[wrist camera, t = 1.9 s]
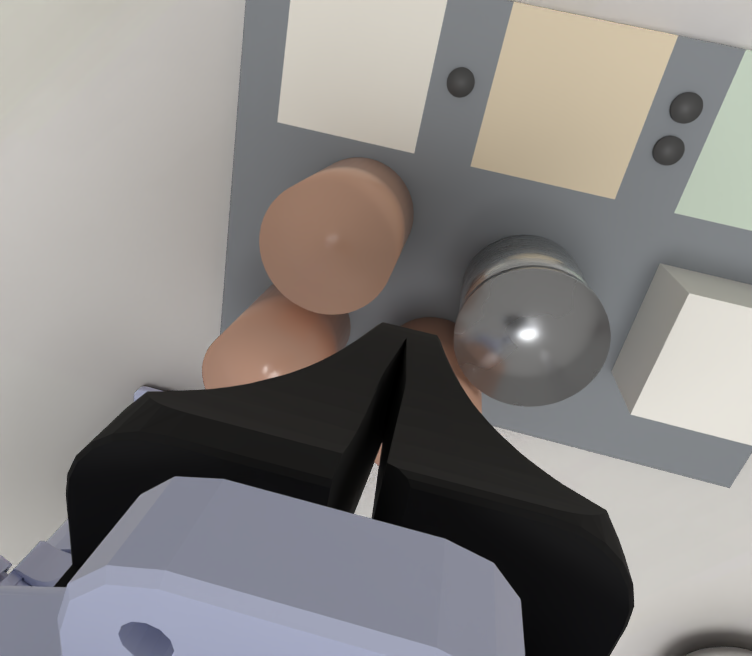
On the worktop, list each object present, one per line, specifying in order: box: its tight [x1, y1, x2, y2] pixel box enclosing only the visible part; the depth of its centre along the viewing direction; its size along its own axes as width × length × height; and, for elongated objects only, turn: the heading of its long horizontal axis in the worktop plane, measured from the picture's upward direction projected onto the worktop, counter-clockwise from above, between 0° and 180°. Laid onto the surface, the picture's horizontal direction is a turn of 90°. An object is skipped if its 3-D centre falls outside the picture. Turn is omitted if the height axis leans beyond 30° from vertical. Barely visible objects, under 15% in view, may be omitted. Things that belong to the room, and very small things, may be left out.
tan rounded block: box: [202, 284, 351, 389], centre depth 20 cm, size 4×4×5 cm
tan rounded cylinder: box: [259, 157, 414, 315], centre depth 18 cm, size 4×4×5 cm
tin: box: [454, 235, 611, 407], centre depth 19 cm, size 5×5×4 cm
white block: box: [611, 263, 752, 446], centre depth 19 cm, size 4×4×3 cm
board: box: [220, 0, 752, 488], centre depth 20 cm, size 15×22×1 cm
